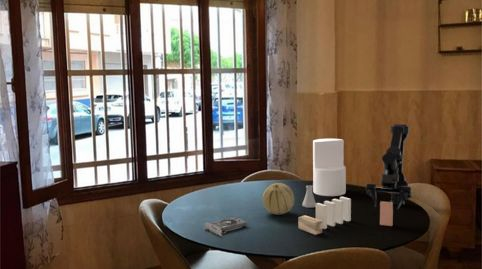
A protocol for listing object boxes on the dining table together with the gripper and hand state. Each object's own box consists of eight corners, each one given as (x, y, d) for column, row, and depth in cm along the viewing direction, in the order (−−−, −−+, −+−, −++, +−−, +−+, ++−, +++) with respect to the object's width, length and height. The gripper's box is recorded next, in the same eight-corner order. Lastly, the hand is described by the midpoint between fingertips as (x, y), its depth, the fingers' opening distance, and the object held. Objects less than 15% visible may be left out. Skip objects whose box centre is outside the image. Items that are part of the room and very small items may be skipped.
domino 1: (318, 225, 208) (318, 202, 206) (326, 228, 204) (326, 205, 202) (315, 226, 207) (315, 203, 205) (324, 229, 203) (324, 206, 201)
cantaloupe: (292, 208, 233) (291, 178, 230) (296, 218, 218) (296, 186, 216) (261, 209, 232) (260, 179, 230) (264, 219, 218) (263, 187, 215)
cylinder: (308, 189, 267) (307, 139, 263) (335, 186, 272) (335, 137, 268) (322, 197, 251) (322, 144, 247) (351, 194, 256) (351, 142, 252)
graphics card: (219, 230, 196) (204, 222, 206) (219, 238, 197) (204, 230, 207) (252, 221, 206) (236, 214, 216) (252, 230, 206) (236, 222, 216)
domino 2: (326, 222, 210) (326, 200, 209) (335, 225, 206) (335, 203, 205) (324, 223, 210) (323, 201, 208) (332, 226, 206) (332, 203, 204)
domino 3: (334, 220, 213) (334, 198, 212) (343, 223, 209) (343, 201, 208) (331, 221, 212) (331, 199, 211) (340, 224, 208) (340, 201, 207)
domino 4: (342, 218, 216) (342, 196, 215) (350, 220, 212) (350, 198, 211) (339, 218, 215) (339, 197, 214) (348, 221, 211) (348, 199, 210)
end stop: (305, 226, 206) (305, 215, 206) (322, 232, 198) (322, 220, 198) (298, 228, 204) (298, 217, 203) (315, 234, 196) (315, 222, 195)
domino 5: (380, 223, 208) (380, 201, 206) (392, 224, 205) (392, 202, 204) (379, 224, 206) (380, 202, 205) (391, 226, 204) (392, 203, 203)
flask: (305, 208, 232) (305, 188, 231) (299, 204, 239) (299, 185, 238) (319, 207, 234) (319, 187, 232) (313, 203, 241) (313, 183, 239)
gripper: (366, 165, 210) (361, 195, 202) (411, 167, 202) (407, 200, 194) (369, 178, 218) (364, 209, 210) (413, 182, 210) (409, 213, 202)
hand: (386, 207), depth 204 cm, fingers open, 9 cm apart
